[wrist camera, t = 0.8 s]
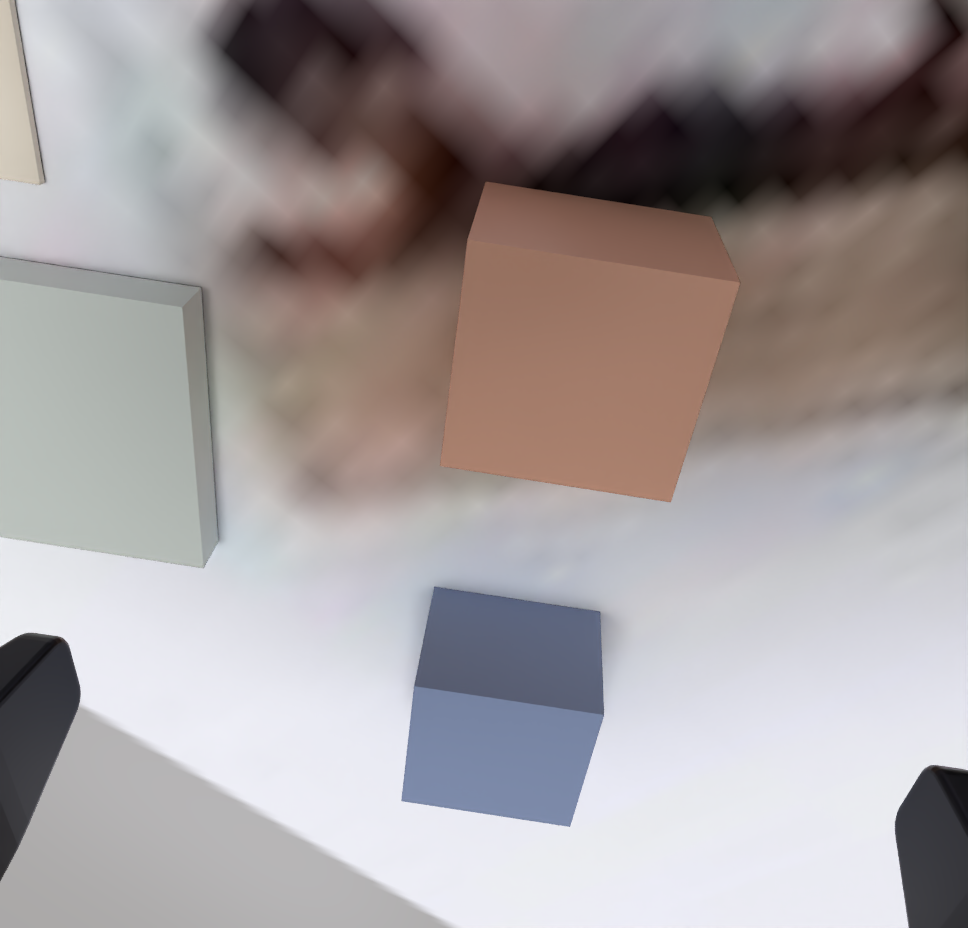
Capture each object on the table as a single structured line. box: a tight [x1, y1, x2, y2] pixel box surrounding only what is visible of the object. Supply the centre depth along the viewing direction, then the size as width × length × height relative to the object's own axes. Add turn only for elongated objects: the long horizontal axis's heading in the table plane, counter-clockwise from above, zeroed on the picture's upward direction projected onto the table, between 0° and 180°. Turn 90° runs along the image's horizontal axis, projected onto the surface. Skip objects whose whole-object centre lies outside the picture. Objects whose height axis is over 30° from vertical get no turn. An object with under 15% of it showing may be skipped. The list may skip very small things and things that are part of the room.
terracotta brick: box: [440, 182, 740, 502], centre depth 18 cm, size 5×5×4 cm
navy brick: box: [402, 587, 604, 827], centre depth 25 cm, size 5×5×4 cm
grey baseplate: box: [0, 257, 218, 568], centre depth 22 cm, size 8×8×1 cm
